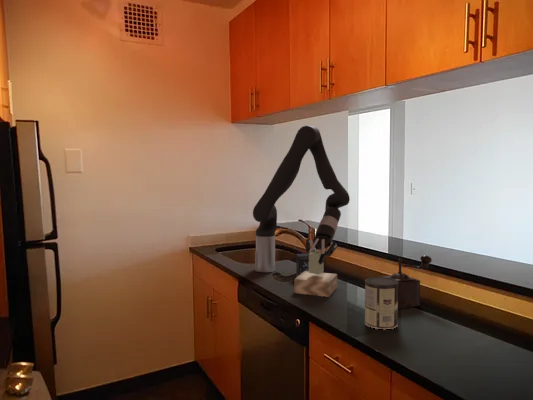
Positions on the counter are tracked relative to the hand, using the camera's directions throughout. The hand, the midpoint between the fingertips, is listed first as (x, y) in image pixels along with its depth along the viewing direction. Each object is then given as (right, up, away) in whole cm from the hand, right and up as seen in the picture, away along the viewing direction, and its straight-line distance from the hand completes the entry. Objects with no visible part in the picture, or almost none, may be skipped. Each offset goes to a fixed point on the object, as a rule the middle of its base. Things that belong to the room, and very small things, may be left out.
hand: (314, 262), depth 168 cm
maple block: (+1, -12, +2) cm, 12 cm away
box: (-1, -10, +22) cm, 24 cm away
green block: (+1, -4, +2) cm, 5 cm away
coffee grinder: (+32, -13, -14) cm, 37 cm away
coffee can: (+17, -15, -35) cm, 42 cm away
